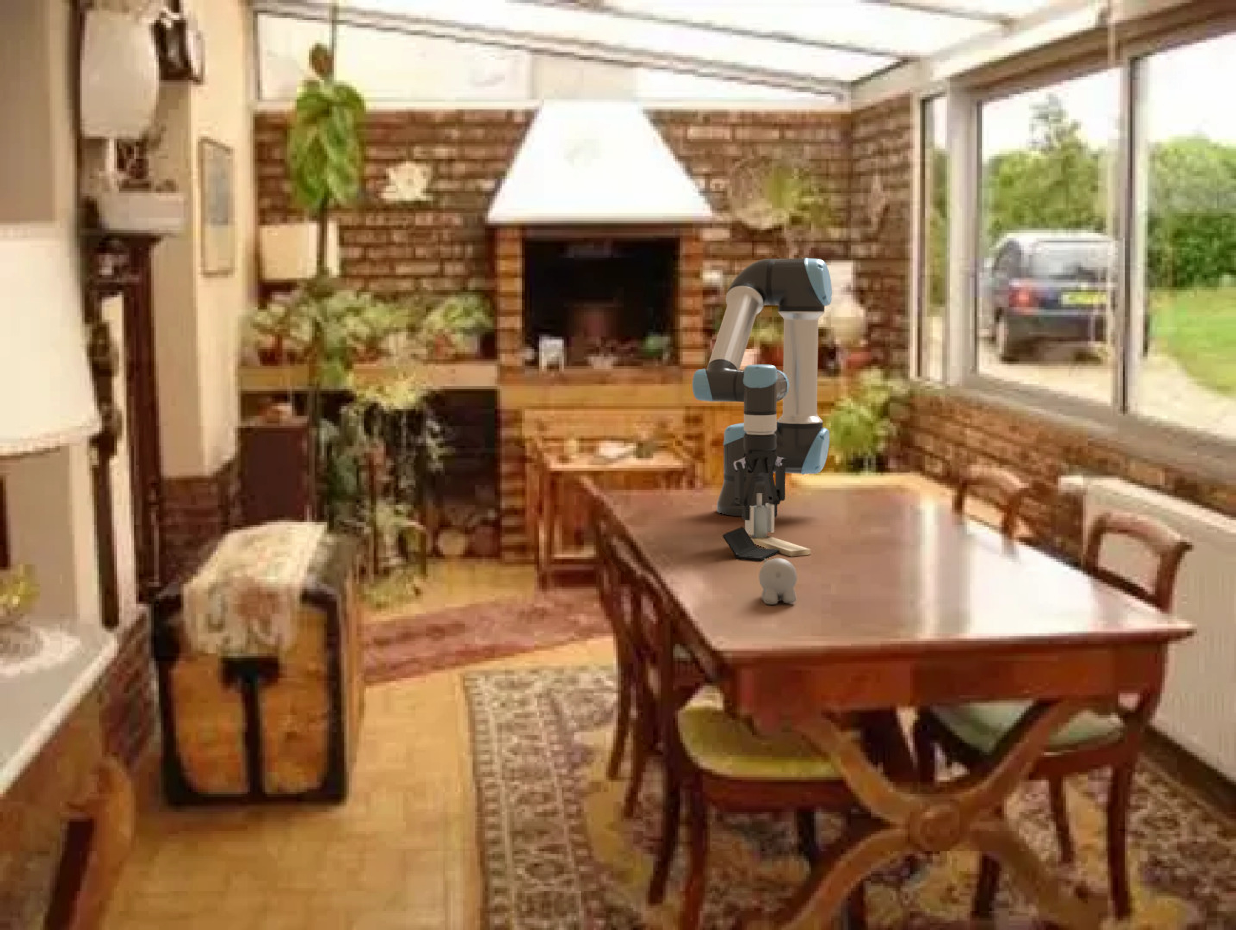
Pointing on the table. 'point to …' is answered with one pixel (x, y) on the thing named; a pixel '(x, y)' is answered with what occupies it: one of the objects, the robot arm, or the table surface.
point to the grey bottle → (760, 519)
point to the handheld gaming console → (746, 546)
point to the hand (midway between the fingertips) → (759, 532)
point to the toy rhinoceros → (778, 581)
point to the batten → (781, 546)
